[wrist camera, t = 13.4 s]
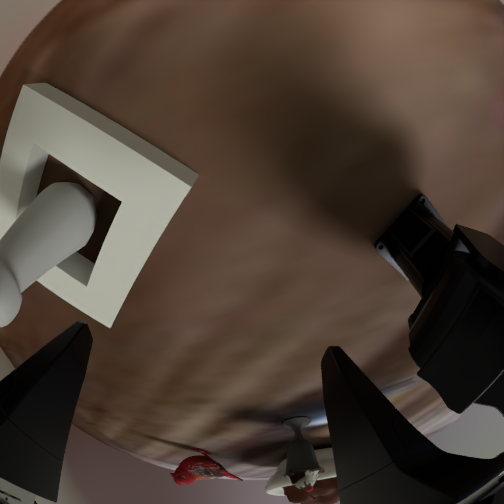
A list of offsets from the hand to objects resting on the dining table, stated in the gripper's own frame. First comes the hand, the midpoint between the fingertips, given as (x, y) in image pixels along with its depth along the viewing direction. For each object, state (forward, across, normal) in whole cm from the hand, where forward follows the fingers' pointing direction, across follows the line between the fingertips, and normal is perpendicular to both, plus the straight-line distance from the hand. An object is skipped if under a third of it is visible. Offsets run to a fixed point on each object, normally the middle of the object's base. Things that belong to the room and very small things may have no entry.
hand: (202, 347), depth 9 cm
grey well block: (+13, +13, 0) cm, 18 cm away
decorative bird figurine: (+13, +1, +55) cm, 57 cm away
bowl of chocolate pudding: (+13, -24, +58) cm, 64 cm away
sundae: (+13, -14, +36) cm, 41 cm away
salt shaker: (+13, +13, +1) cm, 18 cm away
